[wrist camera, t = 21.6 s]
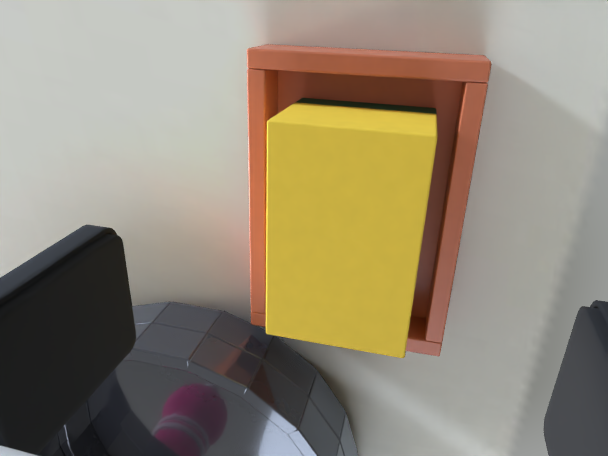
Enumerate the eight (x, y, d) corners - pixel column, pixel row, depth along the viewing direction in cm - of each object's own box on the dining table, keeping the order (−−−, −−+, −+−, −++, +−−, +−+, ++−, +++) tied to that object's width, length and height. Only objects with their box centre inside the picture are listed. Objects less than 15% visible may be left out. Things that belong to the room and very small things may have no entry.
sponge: (301, 97, 17) (266, 120, 13) (436, 107, 16) (437, 135, 12) (295, 276, 20) (265, 334, 16) (409, 293, 19) (404, 359, 15)
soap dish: (265, 44, 17) (246, 48, 15) (485, 55, 16) (492, 60, 14) (266, 298, 21) (250, 324, 19) (439, 325, 20) (439, 357, 18)
